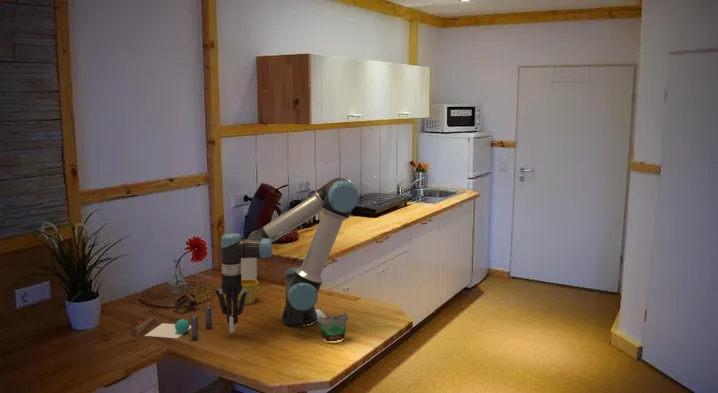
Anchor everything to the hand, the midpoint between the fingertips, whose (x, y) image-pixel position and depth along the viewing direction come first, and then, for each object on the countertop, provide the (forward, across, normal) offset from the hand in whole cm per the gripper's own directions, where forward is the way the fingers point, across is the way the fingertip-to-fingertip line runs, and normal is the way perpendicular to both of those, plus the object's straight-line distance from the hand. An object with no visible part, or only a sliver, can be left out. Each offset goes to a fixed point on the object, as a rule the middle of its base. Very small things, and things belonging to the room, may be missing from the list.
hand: (232, 331), depth 231 cm
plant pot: (+2, -10, +42) cm, 43 cm away
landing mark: (+2, -27, 0) cm, 27 cm away
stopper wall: (+2, -38, 0) cm, 38 cm away
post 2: (+2, -13, +6) cm, 15 cm away
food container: (+2, +41, +3) cm, 41 cm away
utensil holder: (+2, -24, +72) cm, 76 cm away
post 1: (+2, -13, -6) cm, 15 cm away
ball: (-1, -21, -1) cm, 21 cm away
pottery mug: (+2, -32, +26) cm, 42 cm away
